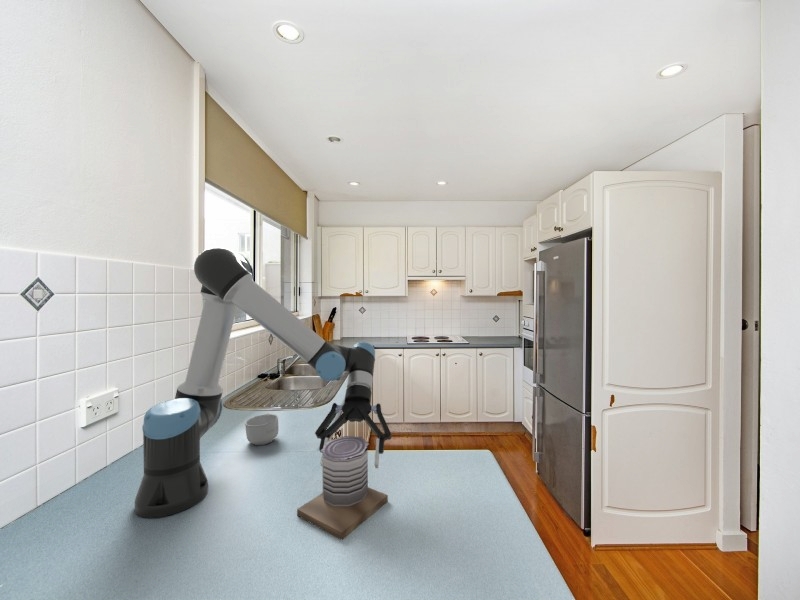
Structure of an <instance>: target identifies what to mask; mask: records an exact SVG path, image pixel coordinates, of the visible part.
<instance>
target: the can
mask: <svg viewBox="0 0 800 600" xmlns="http://www.w3.org/2000/svg"><path fill="white" fill-rule="evenodd" d="M369 445H370V443H369V442H367V440H365V439H364V438H363V437H361V436H354V435H353V436H351V435H344V436H342V437H338V438H334V439H331V440H329V441H328V442H327V444H326V445H325V446H324V447H323V448H322V449H321V450H319V452H320V451H321V452H322V453H321V452H320V453H321V457H322V466H321V467H322V468H321V469H322V493H323V500H324V502H326V503H328V504H330V505H331V506H333V507H349V506H352V505H354V504H357V503H359V502H362V501H363V499H364V498H365V497H366V495H367V494H368V487H369V485H368V484H369V482H368V481H369V480H368V478H369V476H368V475H369V473H368V472H369V467H368V466H369V465H368V464H369V461H368V460H369V456H368V455H369V454H368V453H369V450H368V447H369Z"/></svg>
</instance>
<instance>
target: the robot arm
mask: <svg viewBox="0 0 800 600" xmlns="http://www.w3.org/2000/svg"><path fill="white" fill-rule="evenodd" d="M193 271H194V275H195V277H196V279H197V281H198V282H199V283H200V284H201V288H200V292H199V293H200V295H201V296H202V297H203V299H204V302H203V307H202V311H201V315H200V320H199V323H198V327H197V331H196V335H195V340H194V345H193V348H192V353H191V356H190V360H189V365H188V369H187V372H186V377H185V381H184V382H182V383H181V384H179V385H178V386H177V387H176V392H175V396H174V398H173V399H169V400H164V402H159V403H157V404H155V405H153V406H151V407H149V409H148V410H147V411H146V412H145V414H144V416H143V424H142V435H143V437H142V439H143V440H142V441H143V443H142V445H143V451H142V453H143V477H142V479H141V481H140V484H139V488H138V489H137V492H136V495H135V498H134V513H135V514H136V515H137V516H139V517H141V518H147V519H152V518H153V519H155V518H162V517H168V516H172V515H175V514H178V513H181V512H183V511H185V510H188V509H190V508H191V507H194V506H196V505H197V504H198V503H200V502H201V501H202V500H204V498H205V497H206V496H207V495H208V491H209V481H208V480H209V479H208V477H207V476H206V473H205V471H204V468H203V465H202V463H201V438H202V437H203V436H204V435H206V433H207V432H208V431H209V430H210V429H211V428H212V427H214V425H216V423H217V422H218V420H219V419H220V417H221V415H222V412H223V407H224V406H223V401H222V396H223V393H224V392H223V391H224V390H223V388H222V386H220V379H221V376H222V371H223V368H224V364H225V360H226V359H225V358H226V356H227V349H228V346H229V342H230V338H231V334H232V329H233V325H234V321H235V316H236V312H237V310H238V309H237V308H239V309H240V310H241V311H243V312H244V313H245V314H246V315H247V316H249V317H250V318H251V319H253V321H255V322H256V323H257V324H258V325H260V326H261V327H262V328H263V329H265V330H266V331H267V332H269V334H271V335H272V336H274V338H276V340H278V341H279V342H281V343H282V344H283V345H284V346H286V347H287V348H288V349H290V351H292V352H293V353H295V355H297V356H298V357H299V358H301V360H303V361H304V362H306V364H308V365H309V366H310V367H311V368H312V369H313V370H315V372H316V374H317V375H318V377H320V379H322V380H323V381H326V382H333V381H337V380H338V379H340V378H341V377H342V376H343V374H344V372H347V373H348V375H347V376H348V377H347V383H346V389H345V396H344V401H343V404H342V405H340V404H338V403H336V402H333V403H332V406H331V409H330V411H329V412H328V413H327V415H326V417H325V418H324V419H323V421H322V422H321V424H320V425H319V426H318V427H317V429H316V430H315V433H314V434H315V436H316V438H317V439H320V443H319V447H318V449H319V452H320V453H321V454H322V452H321V451H320V450H321V449H322V448H323V447H324V446H325V445H326V444H327V442H328V441H330V440H329V439H330V438H331V437H332V436H333V435H334V434H335V433H337V431H338V430H339V429H340V428H341V427H342V426H343V425H345V424H346V423H347V422H348V421H349V422H350V423H354V422H358V423H362V422H363V421H364V422H365V423H366V425H367V426H368V427H369V428H370V429H371V431H372V432H373V434H374V435H375V436H376V440H375V441H376V442H375V452H374V467H375V469H379V463H380V455H383V454H384V451H385V442H386V441H389V440H391V439H392V432H391V431H390V428H389V426H388V424H387V422H386V420H385V419H386V418H385V417H384V414H383V412H382V406H381V403H376V404H375V405H371V403H372V393H373V392H372V390H373V383H374V382H373V380H374V371H375V361H376V349H375V347H374V346H373V345H372V344H371V343H368V342H365V341H364V342H357V343H355V344H354V345H353V347H348V346H342V345H338V344H333V343H329V342H327V341H326V340H325V339H323V338H322V337H321V336H320V335H319V334H318V333H317V332H315V331H314V330H313V329H312V328H311V327H309V325H307V324H306V323H305V322H304V321H302V320H301V319H299V318H298V316H296V315H295V314H294V313H292V311H290V310H289V309H288V308H286V307H285V306H284V305H283V304H281V302H279V301H278V300H277V299H276V298H275V297H273V296H272V295H271V294H270V293H268V292H267V291H266V290H265V289H264V288H262V287H261V286H260V285H259V284H257V282H255V281H254V280H253V279H254V276H255V275H254V268H253V266H252V264H251V263H250V261H249V260H248V259H247V258H246V257H245V256H243V255H242V254H240V253H237V252H235V251H233V250H231V249H229V248H226V247H222V246H215V247H209V248H206V249H204V250H203V251H201V253H199V254H198V255H197V257H196V258H195V261H194V265H193ZM340 411H341V412H342V413H341V414H340V416H339V417H338V418H337V419H336V420H335V418H336V417H337V414H339V413H340ZM371 412H373V413H374V414H376V415H377V419H378V421H379V424H380V425H381V428H382V431H383V432H382V431H381V430H380V428H379V427H378V426H377V425H376V423H375V422H374V421H373V419H372V417H370V413H371ZM334 420H335V421H334ZM332 422H333V423H332ZM319 463H320V466H321V467H322V456H321V458H320V462H319Z"/></svg>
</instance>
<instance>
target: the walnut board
mask: <svg viewBox="0 0 800 600" xmlns="http://www.w3.org/2000/svg"><path fill="white" fill-rule="evenodd" d="M388 499H389V497H388V494H386V493H384V492H381V491H378V490H377V489H374V488H370V487H369V486H368V494H367V495H366V497H365V498H364V499H363V501H362V502H359V503H357V504H354V505H352V506H349V507H333V506H331V505H330V504H328V503H326V502H324V500H323V492H322V493H320V494H318V495H317V496H315V497H313V499H311V500H309V501H308V502H306V503H304V504H303V505H301V506H300V507H298V508H297V509H296V510H297V511H296V516H297V517H299V516H300V517H299V518H301V517H302V518H301V519H302V520H304V519H305V520H304V521H306V520H307V522H308V521H309V523H310V522H311V523H310V524H312V525H314V526H315V525H316V526H315V527H317V526H318V527H317V528H319V527H320V528H319V529H321V528H322V529H321V530H323V531H324V532H326V531H327V532H326V533H328V532H329V533H328V534H330V533H331V534H330V535H332V534H333V535H332V536H334V537H336V538H337V537H338V538H337V539H339V538H340V539H339V540H341V539H342V540H343V539H345V538H346V537H347V536H348V535H350V534H351V533H352V532H353V531H354V530H356V528H358V527H359V526H360V525H361V524H362V523H364V522H365V521H366V520H367V519H369V518H370V517H371V516H372V515H374V513H376V512H377V511H378V510H379V509H380V508H382V506H384V505H385V504H386V503H388ZM369 516H370V517H369ZM363 521H364V522H363ZM350 532H351V533H350ZM344 537H345V538H344Z"/></svg>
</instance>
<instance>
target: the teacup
mask: <svg viewBox="0 0 800 600" xmlns="http://www.w3.org/2000/svg"><path fill="white" fill-rule="evenodd" d="M244 425H245V434H246V440H247V441H248V442H249V443H251V444H253V445H255V446H262V445H266V444H267V445H268V444H271V442H273V441H274V439H276V437H277V436H278V435H279V415H277V414H272V413H269V412H265V413H264V414H260V415H256V416H253V417H250V418H248V419H247V420H245V421H244Z"/></svg>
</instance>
